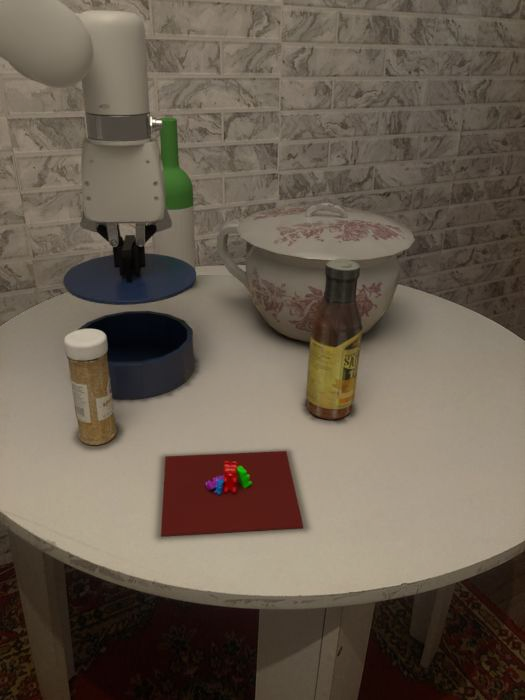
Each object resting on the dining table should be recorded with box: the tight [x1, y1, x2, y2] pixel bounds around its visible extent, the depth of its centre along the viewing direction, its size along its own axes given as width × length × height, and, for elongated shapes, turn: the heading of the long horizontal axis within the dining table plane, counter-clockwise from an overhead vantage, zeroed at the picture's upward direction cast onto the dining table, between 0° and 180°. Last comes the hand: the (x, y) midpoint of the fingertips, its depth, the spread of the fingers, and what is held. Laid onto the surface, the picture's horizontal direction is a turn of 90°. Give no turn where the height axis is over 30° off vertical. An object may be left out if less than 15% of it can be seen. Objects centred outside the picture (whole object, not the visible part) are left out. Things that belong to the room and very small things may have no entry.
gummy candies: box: [205, 461, 252, 495], centre depth 63 cm, size 5×3×4 cm, turn 88°
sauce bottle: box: [305, 259, 363, 420], centre depth 74 cm, size 6×6×20 cm
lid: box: [62, 234, 197, 306], centre depth 80 cm, size 18×18×6 cm
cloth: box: [160, 450, 304, 537], centre depth 64 cm, size 14×12×1 cm
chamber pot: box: [215, 202, 416, 343], centre depth 96 cm, size 28×28×21 cm
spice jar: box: [63, 329, 118, 446], centre depth 69 cm, size 5×5×14 cm
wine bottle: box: [151, 117, 196, 270], centre depth 108 cm, size 8×8×30 cm
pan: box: [77, 310, 195, 400], centre depth 85 cm, size 17×17×5 cm
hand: (130, 271), depth 80 cm, fingers closed on lid, 1 cm apart
